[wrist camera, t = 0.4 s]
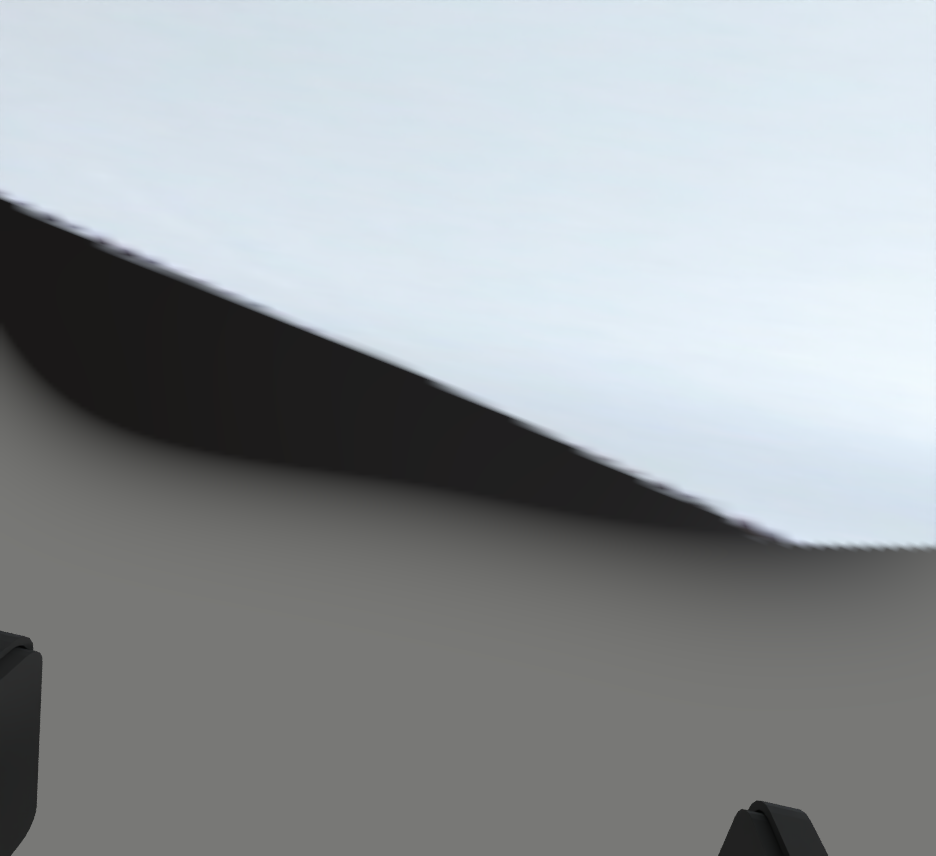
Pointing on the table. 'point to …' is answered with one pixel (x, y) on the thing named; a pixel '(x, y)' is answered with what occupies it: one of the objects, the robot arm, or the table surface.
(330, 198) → the table surface
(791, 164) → the table surface
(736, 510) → the table surface
